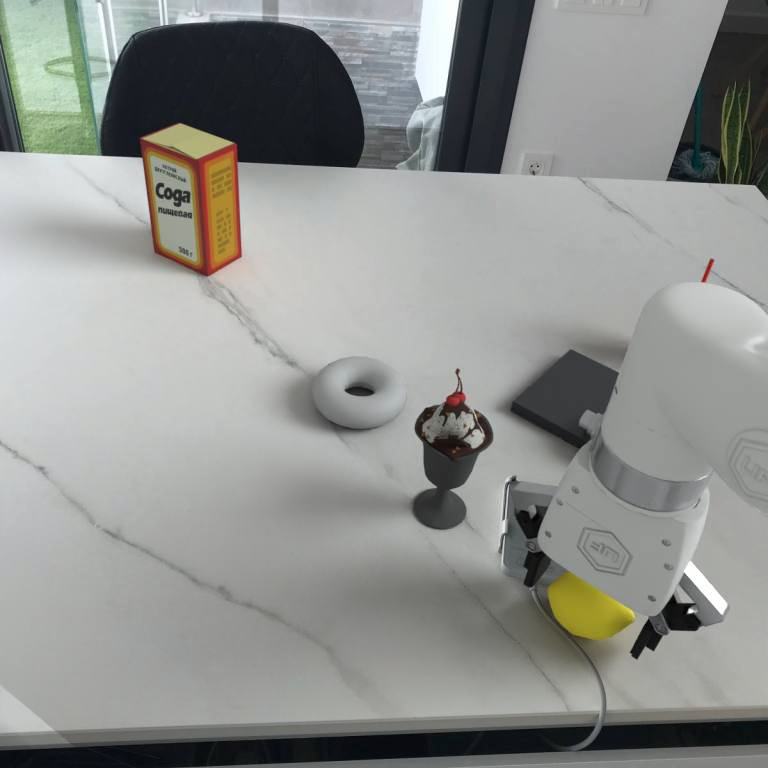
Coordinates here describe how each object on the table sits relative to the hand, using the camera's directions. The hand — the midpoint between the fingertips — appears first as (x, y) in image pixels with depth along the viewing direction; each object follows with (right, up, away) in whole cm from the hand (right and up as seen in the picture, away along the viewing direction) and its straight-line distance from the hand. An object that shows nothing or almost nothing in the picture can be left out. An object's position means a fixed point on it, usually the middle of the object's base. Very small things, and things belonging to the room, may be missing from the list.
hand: (586, 609), depth 62 cm
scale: (+6, +15, +22) cm, 28 cm away
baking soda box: (-41, +35, +41) cm, 68 cm away
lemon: (0, -2, +1) cm, 2 cm away
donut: (-19, +16, +20) cm, 32 cm away
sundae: (-11, +6, +10) cm, 16 cm away
